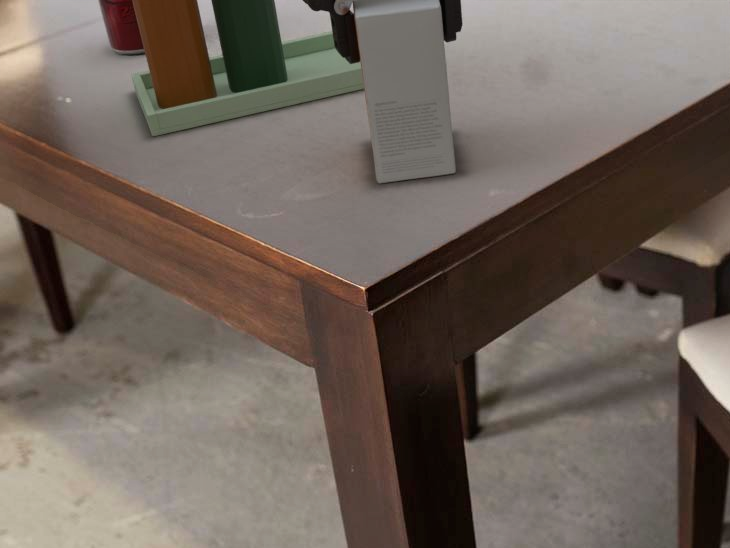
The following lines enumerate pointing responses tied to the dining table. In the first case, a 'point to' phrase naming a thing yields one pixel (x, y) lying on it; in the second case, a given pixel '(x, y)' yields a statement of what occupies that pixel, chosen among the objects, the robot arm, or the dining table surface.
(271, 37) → the green bottle
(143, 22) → the amber bottle
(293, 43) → the tray
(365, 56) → the small box
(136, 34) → the soda can
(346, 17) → the robot arm
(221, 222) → the dining table surface
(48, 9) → the dining table surface
